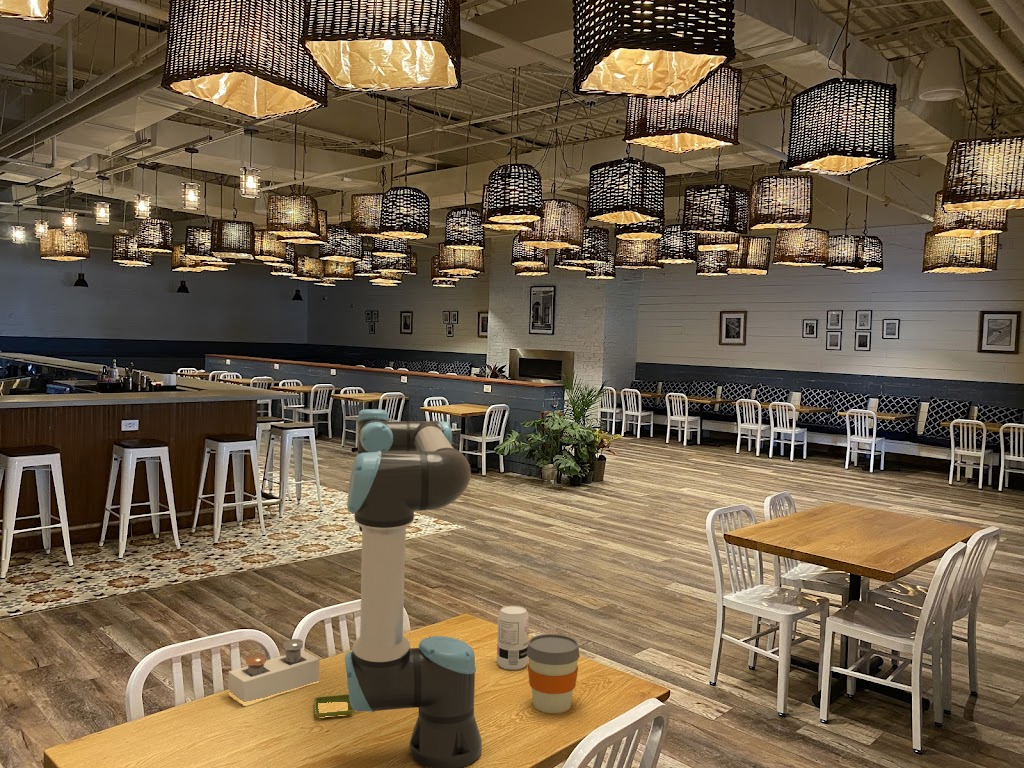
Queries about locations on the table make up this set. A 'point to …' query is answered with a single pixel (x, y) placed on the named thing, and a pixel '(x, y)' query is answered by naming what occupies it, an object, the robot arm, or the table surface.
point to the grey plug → (293, 651)
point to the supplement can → (512, 637)
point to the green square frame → (331, 699)
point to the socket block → (273, 677)
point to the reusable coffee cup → (552, 671)
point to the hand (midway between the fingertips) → (371, 560)
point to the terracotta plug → (255, 664)
